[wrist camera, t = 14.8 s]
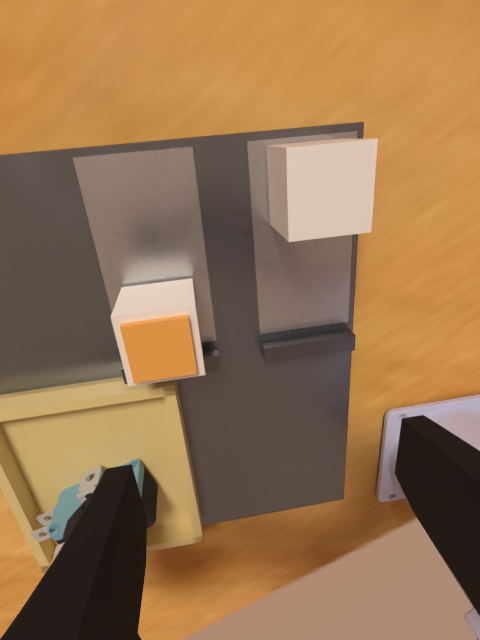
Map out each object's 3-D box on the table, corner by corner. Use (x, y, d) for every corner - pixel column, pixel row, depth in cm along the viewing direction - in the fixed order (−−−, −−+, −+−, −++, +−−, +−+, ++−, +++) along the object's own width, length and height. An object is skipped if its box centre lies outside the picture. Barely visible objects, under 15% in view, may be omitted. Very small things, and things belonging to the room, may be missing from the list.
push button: (70, 538, 22) (-3, 810, 13) (11, 480, 20) (-126, 765, 11) (175, 495, 22) (173, 743, 13) (128, 431, 19) (86, 680, 11)
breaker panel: (347, 123, 17) (375, 121, 14) (334, 479, 26) (349, 512, 24) (-100, 164, 15) (-152, 169, 13) (60, 528, 24) (47, 570, 22)
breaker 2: (341, 138, 15) (377, 138, 12) (339, 216, 16) (371, 232, 14) (266, 145, 15) (286, 147, 12) (270, 224, 16) (288, 242, 13)
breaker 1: (192, 278, 17) (195, 309, 14) (201, 339, 18) (205, 379, 15) (121, 287, 16) (108, 320, 13) (135, 348, 18) (127, 391, 15)
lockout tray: (174, 369, 19) (173, 385, 17) (202, 519, 24) (203, 541, 22) (-21, 397, 18) (-36, 417, 17) (50, 548, 23) (42, 572, 21)
